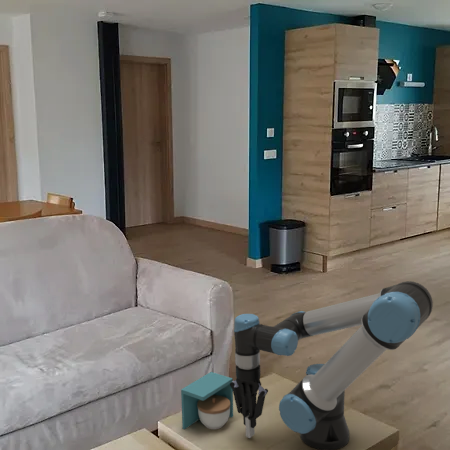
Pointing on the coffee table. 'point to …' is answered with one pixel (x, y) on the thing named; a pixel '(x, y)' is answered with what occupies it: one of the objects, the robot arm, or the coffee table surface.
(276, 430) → the coffee table surface
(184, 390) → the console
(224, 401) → the lidded jar
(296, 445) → the coffee table surface
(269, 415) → the coffee table surface
